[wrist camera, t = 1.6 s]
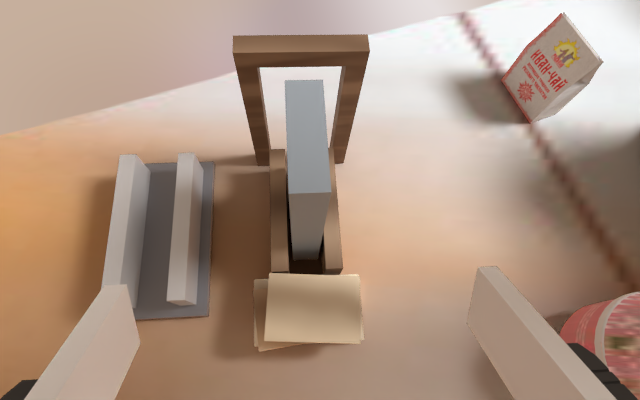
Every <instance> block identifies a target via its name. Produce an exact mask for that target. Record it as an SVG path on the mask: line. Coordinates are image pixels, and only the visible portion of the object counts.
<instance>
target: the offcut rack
mask: <svg viewBox="0 0 640 400" xmlns="http://www.w3.org/2000/svg"><path fill="white" fill-rule="evenodd" d="M369 53H370V49H369V41H368V35H273V36H272V35H267V36H266V35H260V36H233V56H234V61H235V65H236V70H237V74H238V79H239V83H240V88H241V92H242V96H243V101H244V105H245V110H246V114H247V119H248V123H249V128H250V132H251V137H252V141H253V145H254V150H255V154H256V159H257V163H258V166H266V165H270V223H271V272H272V273H269V279H254V290H253V299H254V347H258V348H259V352H262V351H267V350H273V349H279V348H284V347H290V346H296V345H301V344H309V343H337V344H361V340H364V329H363V319H362V308H361V297H360V276H358V274H348V275H340V273H341V271H342V269H343V262H342V250H341V237H340V225H339V212H338V200H337V188H336V175H335V163H343V162H344V158H345V154H346V150H347V145H348V141H349V137H350V133H351V129H352V124H353V120H354V116H355V112H356V107H357V103H358V99H359V95H360V91H361V86H362V82H363V78H364V74H365V69H366V65H367V61H368V57H369ZM321 66H342V70H341V76H340V83H339V90H338V96H337V103H336V109H335V116H334V123H333V129H332V136H331V142H330V148H328V154H329V167H330V181H331V196H330V201H329V206H328V211H327V216H326V221H325V226H324V231H323V236H322V240H321V257H322V273H323V275H313V274H290V272H289V240H288V208H287V176H286V159H285V149H274V150H271V146H270V139H269V132H268V125H267V118H266V111H265V104H264V97H263V90H262V83H261V76H260V69H259V67H321Z"/></svg>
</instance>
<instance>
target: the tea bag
mask: <svg viewBox="0 0 640 400" xmlns="http://www.w3.org/2000/svg"><path fill="white" fill-rule="evenodd" d="M602 63H603V61H602V59H601V58H600V57H599V56H598V54H597V53H596V52H595V51H594V49H593V48H592V47H591V46H590V44H589V43H588V42H587V41H586V39H585V38H584V37H583V35H582V34H581V33H580V32H579V30H578V29H577V28H576V27H575V25H574V24H573V23H572V22H571V20H570V19H569V18H568V17H567V15H566V14H565V13H563V14H562V13H561V14H560V15H559V16H558V17H557V18H556V19H555V20H554V21H553V22H552V23H551V24H550V25H549V26H548V27H547V28H546V29H545V30H544V31H542V32H541V33H540V34H539V35H538V36H537V37H536V38H535V39H534V40H533V41H531V42H530V43H529V44H528V45H527V46H526V47H525V49H524V50H523V51H522V53H521V54H520V55H519V57H518V58H517V59H516V61H515V62H514V63H513V65H512V66H511V67H510V69H509V70H508V71H507V73H506V74H505V75H504V77H503V78H502V79H501V81H502V82H503V84H504V85H505V87H506V88H507V90H508V91H509V93H510V94H511V96H512V97H513V99H514V100H515V102H516V103H517V105H518V106H519V108H520V109H521V111H522V112H523V114H524V115H525V117H526V118H527V120H528V121H529V123H533V122H536V121H539V120H542V119H544V118H547V117H550V116H553V115H555V114H556V113H557V112H559V111H560V110H561V109H562V108H563V107H564V106H565V105H566V104H567V103H568V102H569V101H571V100H572V99H573V98H574V97H575V96H576V95H577V94H578V93H579V92H580V91H581V90H582V89H584V88H585V87H586V86H587V85H588V84H589V82H590V81H591V79H592V77H593V76H594V74H595V72H596V71H597V69H598V68H599V67H600V65H601V64H602Z"/></svg>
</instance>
